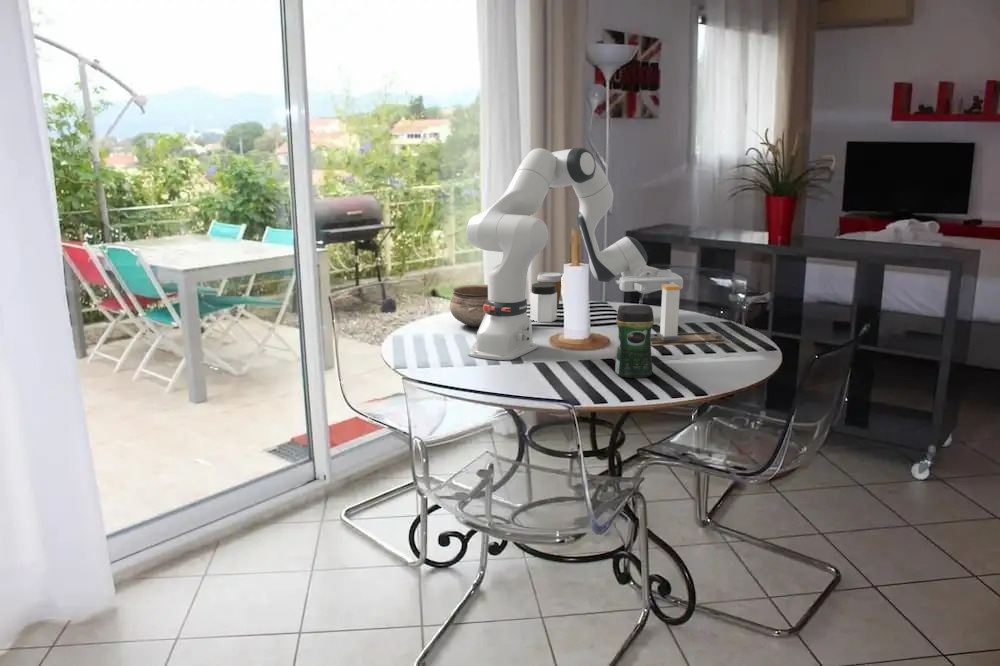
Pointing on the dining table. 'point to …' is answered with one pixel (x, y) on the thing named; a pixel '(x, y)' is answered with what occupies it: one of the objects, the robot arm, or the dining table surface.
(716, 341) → the board
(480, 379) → the dining table surface
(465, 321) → the cooking pot
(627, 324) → the coffee jar
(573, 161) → the robot arm
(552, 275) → the disposable coffee cup
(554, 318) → the jar
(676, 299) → the fader
